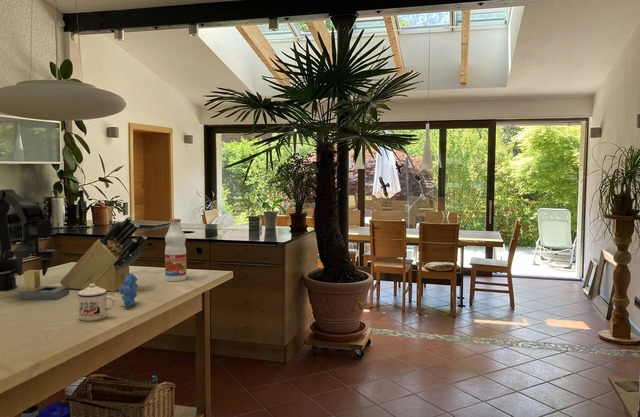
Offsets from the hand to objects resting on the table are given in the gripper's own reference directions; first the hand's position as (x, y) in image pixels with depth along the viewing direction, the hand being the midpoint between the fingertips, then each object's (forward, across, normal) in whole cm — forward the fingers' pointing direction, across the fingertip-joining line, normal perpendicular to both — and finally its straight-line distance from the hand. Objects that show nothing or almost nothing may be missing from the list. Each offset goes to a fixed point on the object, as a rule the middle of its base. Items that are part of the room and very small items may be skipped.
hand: (32, 275), depth 201 cm
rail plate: (+8, +5, 0) cm, 10 cm away
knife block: (+9, +23, +14) cm, 28 cm away
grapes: (+8, +42, -13) cm, 45 cm away
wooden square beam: (+5, 0, 0) cm, 5 cm away
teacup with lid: (+9, +37, -28) cm, 47 cm away
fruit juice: (+9, +48, +32) cm, 58 cm away
